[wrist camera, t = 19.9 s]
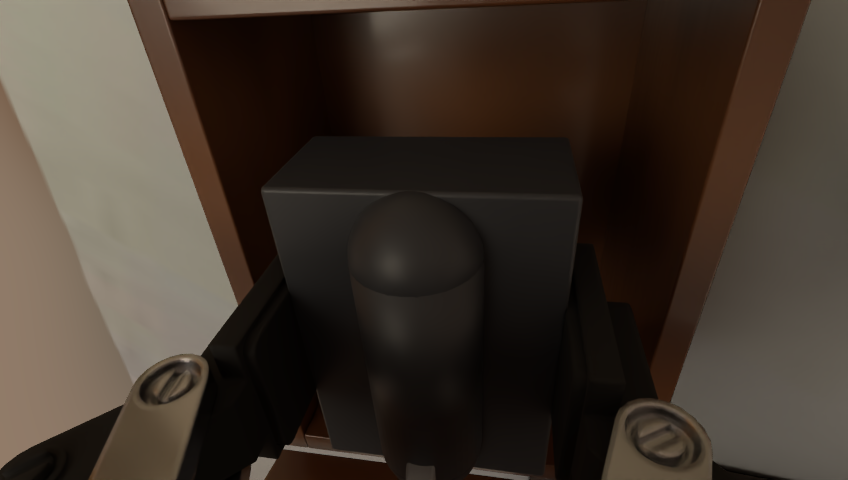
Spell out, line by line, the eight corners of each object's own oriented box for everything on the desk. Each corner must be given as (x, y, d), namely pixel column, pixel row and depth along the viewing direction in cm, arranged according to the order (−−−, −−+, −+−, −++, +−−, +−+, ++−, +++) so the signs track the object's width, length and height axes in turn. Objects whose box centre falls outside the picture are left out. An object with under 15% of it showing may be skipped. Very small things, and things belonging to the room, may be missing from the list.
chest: (288, -41, 16) (118, -21, 9) (681, -67, 14) (836, -67, 7) (352, 303, 25) (288, 445, 18) (603, 320, 22) (639, 491, 16)
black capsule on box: (312, 134, 10) (211, 232, 7) (569, 135, 9) (597, 251, 6) (359, 372, 14) (310, 506, 11) (540, 390, 13) (547, 543, 10)
